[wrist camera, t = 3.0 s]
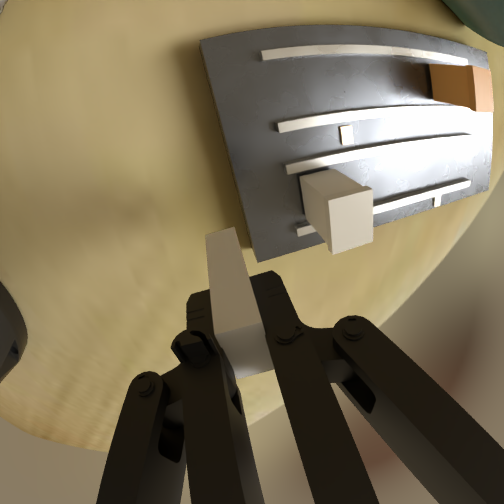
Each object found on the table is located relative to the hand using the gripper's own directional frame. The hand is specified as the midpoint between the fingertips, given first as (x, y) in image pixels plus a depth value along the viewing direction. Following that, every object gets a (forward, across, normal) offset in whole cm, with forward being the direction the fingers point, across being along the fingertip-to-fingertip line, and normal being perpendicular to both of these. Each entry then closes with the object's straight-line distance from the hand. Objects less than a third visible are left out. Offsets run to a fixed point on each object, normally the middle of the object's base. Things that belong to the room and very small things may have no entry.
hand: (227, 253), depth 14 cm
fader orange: (+4, +19, +7) cm, 20 cm away
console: (+6, +15, +4) cm, 16 cm away
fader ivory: (+4, +7, 0) cm, 8 cm away
